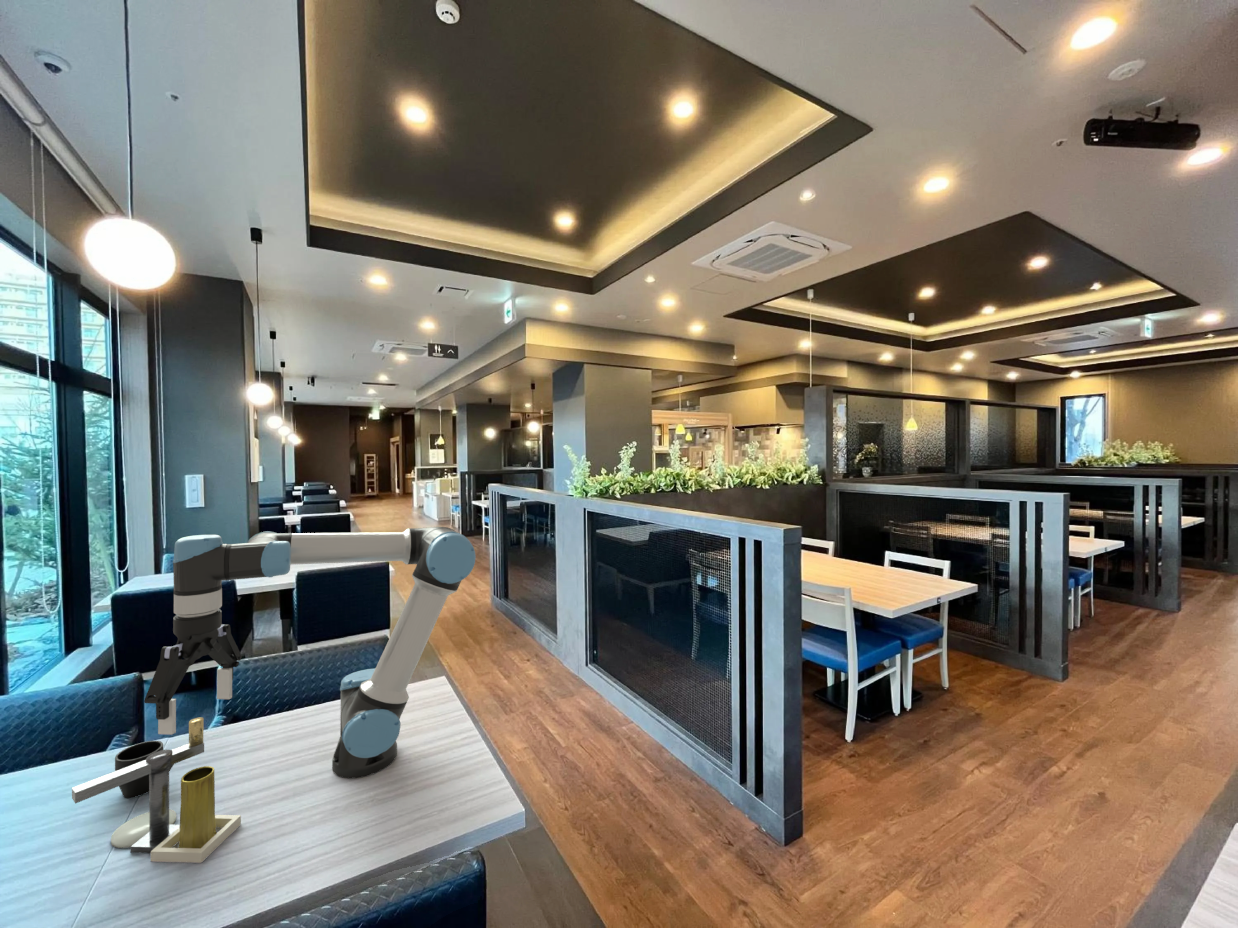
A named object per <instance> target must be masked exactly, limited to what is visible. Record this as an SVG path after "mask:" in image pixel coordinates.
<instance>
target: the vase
mask: <svg viewBox="0 0 1238 928" xmlns="http://www.w3.org/2000/svg"><path fill="white" fill-rule="evenodd" d="M180 779H181V780H180V811H179V825H180V837H179V842H178V847H177V848H200V849H201V848H202V847H203V846H204V845H205V844H206V843H207V842H208V841H209V840H210V839H211V838H212V837H213V836H215V835H216V834H217V833H218V832H217V828H216V823H215V815H216V812H215V811H216V805H215V804H216V800H215V798H216V796H215V785H216V784H215V780H216V779H215V767H213V766H210V765H204V766H203V765H202V766H200V767H196V768H194V769H191V770H189V771H187V772H186V773H185V774H184V775H182V776H181V778H180Z"/></svg>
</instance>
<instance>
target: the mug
mask: <svg viewBox="0 0 1238 928" xmlns="http://www.w3.org/2000/svg"><path fill="white" fill-rule="evenodd" d="M161 750H164V742H162V741H160V740H148V741H143V742H140V743H136V744H133V745H131V746H128V747H127V748H124V749H122V750H121V751H119V752H118V753H117V754H116V755H115V757H114V772H115V771H117V770H120V769H123V768H125V767H128V766H130V765H133V764H136V763H138V762H141V761H144V760H146V758H147V757H148V756H149V755H151V754H153V753H155V752H158V751H161ZM174 765H175V764H173V765H171V766H170V767H169V772H171V770H172V769H173V766H174ZM118 787H119V789H120V792H121V793H122V797H124V798H125V799H133V798H137V797H140V796H143V795H145V794H147V793H149V774H148V775H146V776H143V777H141V778H138V779H136V780H133V781H131V782H128V783H126V784H123V785H121V786H118Z"/></svg>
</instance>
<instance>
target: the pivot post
mask: <svg viewBox="0 0 1238 928" xmlns="http://www.w3.org/2000/svg"><path fill="white" fill-rule="evenodd" d="M148 793H149V794H148V795H149V800H148V802H149V804H148V805H149V809H148V810H149V811H148V812H149V832H148V833H147V834H146V835H145V836H143V837H142V838H141V839H140V840H138V841H137V842H136V843H135V844H133V845H132V846H131V847H129V849H130V852H129V853H131V854H132V853H133V854H134V853H136V854H139V853H140V854H151V851H152V850H153V849H154V848H155V847H157V846H158V845H159V844H160V843H161V842H163V841H164V840H165V839H166V838H167V837H169V836H170V835H171V834H172V833H173V832H174V831H176V830H177V829H178V828H179V827H180V824H174V825H169V809H170V771H169V768H167V769H165V770H163V771H160V772H156V773H151V774H149V792H148Z"/></svg>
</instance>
